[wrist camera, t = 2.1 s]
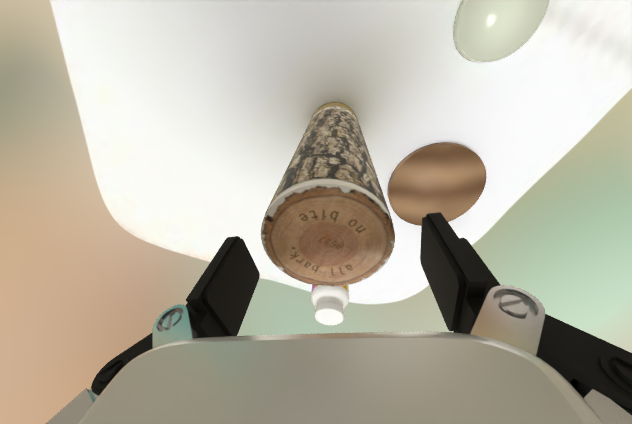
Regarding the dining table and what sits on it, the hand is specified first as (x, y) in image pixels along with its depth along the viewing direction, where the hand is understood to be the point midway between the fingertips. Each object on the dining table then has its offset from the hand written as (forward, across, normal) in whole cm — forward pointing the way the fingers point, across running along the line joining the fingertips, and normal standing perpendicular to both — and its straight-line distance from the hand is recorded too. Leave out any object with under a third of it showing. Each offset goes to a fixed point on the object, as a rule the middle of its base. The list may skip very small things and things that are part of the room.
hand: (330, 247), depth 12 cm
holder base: (+25, -14, +11) cm, 31 cm away
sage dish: (+25, -19, -9) cm, 32 cm away
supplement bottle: (+25, +5, +25) cm, 36 cm away
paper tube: (+25, 0, -1) cm, 25 cm away
